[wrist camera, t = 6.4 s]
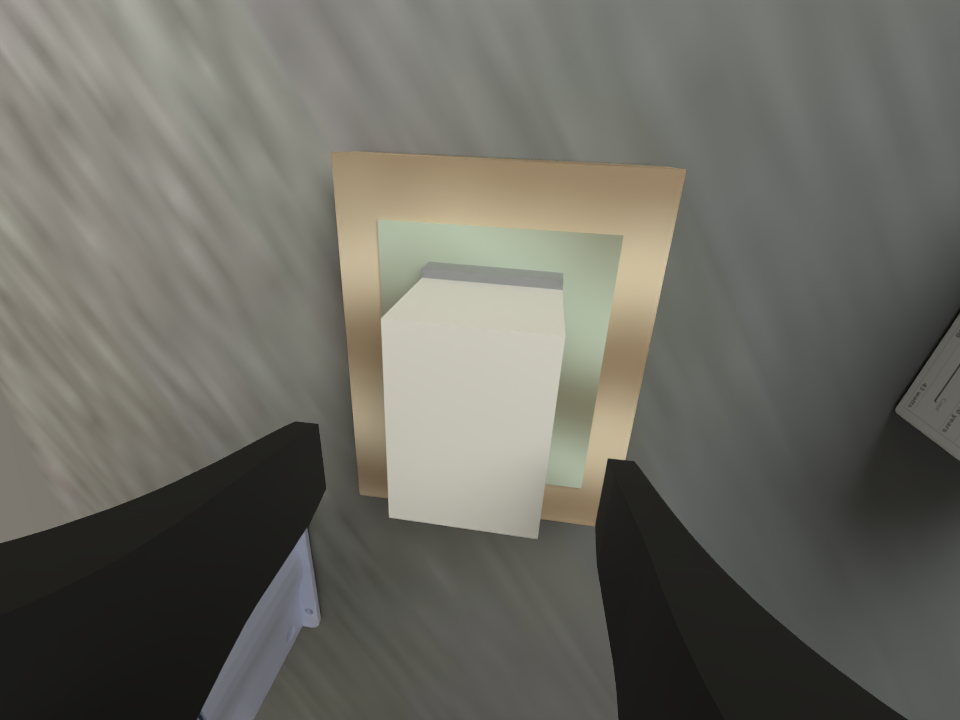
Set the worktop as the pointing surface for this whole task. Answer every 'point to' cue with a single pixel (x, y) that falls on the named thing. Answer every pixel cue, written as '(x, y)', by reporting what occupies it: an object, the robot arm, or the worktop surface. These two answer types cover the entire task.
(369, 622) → the worktop surface
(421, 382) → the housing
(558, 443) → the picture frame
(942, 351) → the light bulb box
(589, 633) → the worktop surface
